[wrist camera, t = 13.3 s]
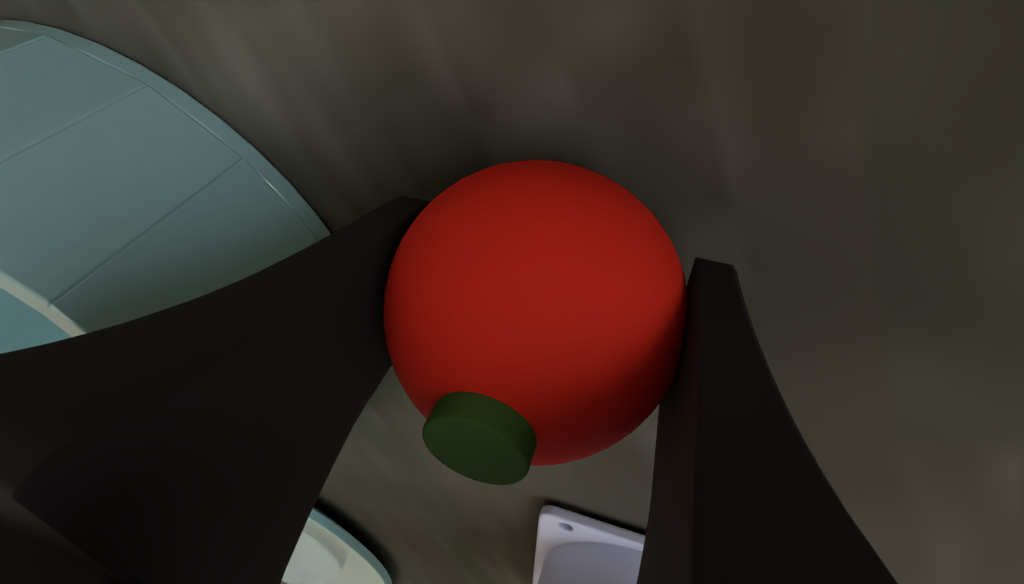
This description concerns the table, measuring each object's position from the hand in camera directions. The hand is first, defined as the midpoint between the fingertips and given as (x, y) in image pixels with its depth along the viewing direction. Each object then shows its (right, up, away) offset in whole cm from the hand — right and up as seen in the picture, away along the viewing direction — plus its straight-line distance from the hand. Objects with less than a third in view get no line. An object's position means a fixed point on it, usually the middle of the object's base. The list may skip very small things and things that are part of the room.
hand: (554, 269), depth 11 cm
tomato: (0, -1, -1) cm, 1 cm away
